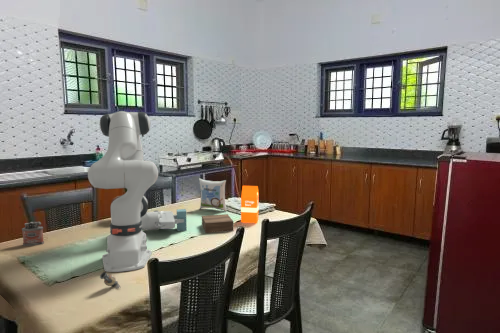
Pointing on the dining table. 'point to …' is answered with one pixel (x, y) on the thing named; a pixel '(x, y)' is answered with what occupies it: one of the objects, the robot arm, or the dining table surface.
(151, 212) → the robot arm
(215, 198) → the pouch
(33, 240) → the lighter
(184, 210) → the teal block
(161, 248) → the dining table surface
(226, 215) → the walnut base
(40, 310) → the dining table surface
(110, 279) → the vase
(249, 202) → the orange juice
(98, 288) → the dining table surface
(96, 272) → the dining table surface
